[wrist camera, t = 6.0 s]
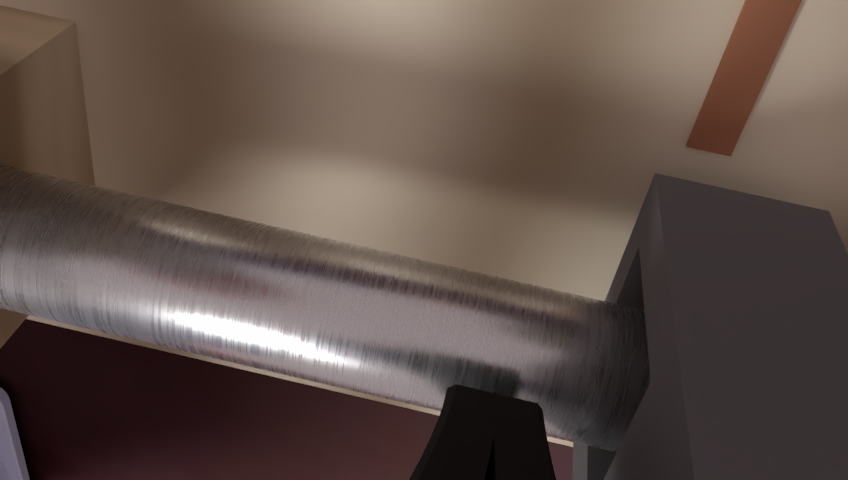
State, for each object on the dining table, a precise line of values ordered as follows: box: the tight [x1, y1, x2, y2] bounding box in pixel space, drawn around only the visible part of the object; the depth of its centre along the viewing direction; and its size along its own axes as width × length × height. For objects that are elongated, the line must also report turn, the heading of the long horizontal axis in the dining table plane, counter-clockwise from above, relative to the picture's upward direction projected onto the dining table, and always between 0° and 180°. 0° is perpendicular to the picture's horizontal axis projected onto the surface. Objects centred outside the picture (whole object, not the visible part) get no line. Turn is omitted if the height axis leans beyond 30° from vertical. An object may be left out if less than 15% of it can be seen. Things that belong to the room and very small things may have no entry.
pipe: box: [0, 165, 651, 452], centre depth 13 cm, size 20×3×3 cm, turn 81°
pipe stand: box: [0, 0, 848, 447], centre depth 15 cm, size 22×12×6 cm, turn 81°
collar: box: [573, 173, 848, 480], centre depth 12 cm, size 3×5×7 cm, turn 171°
